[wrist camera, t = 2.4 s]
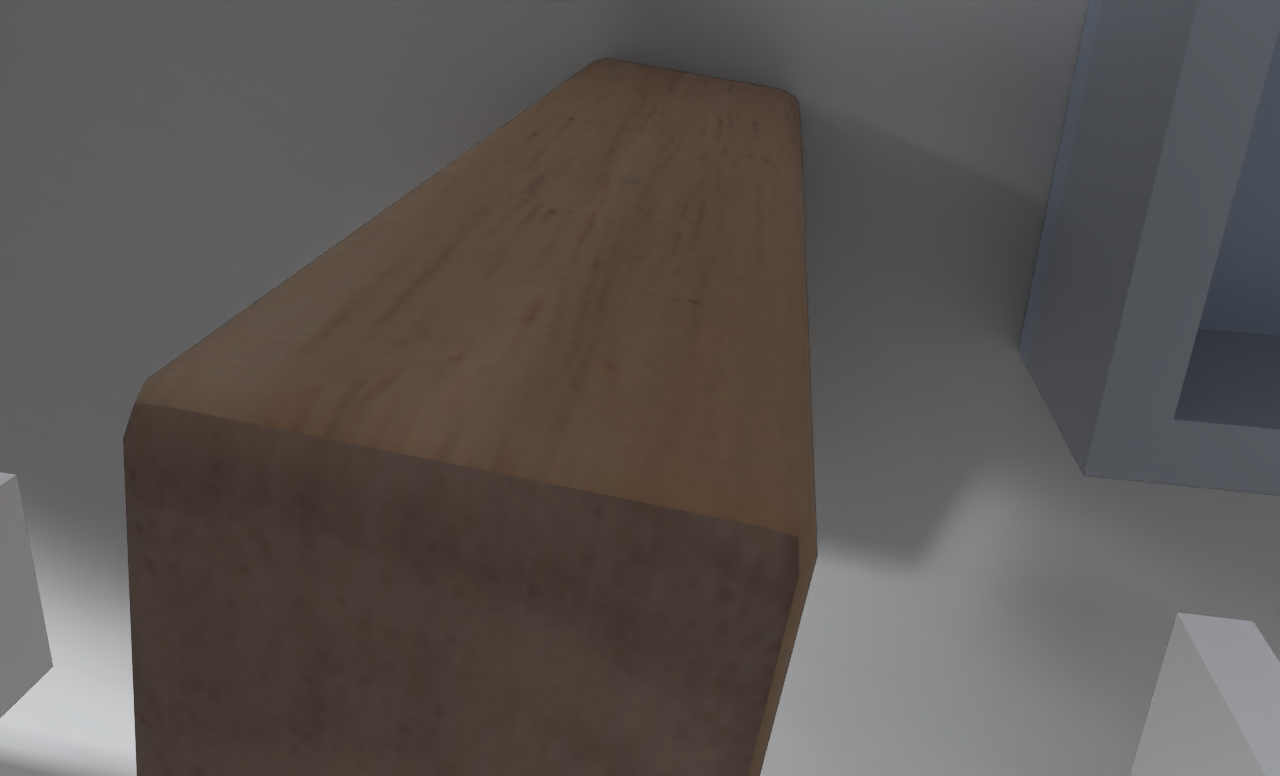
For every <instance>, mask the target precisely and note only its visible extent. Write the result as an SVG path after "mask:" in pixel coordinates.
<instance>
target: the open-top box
mask: <svg viewBox="0 0 1280 776" xmlns="http://www.w3.org/2000/svg"><path fill="white" fill-rule="evenodd" d="M1018 351H1019V353H1020V355H1021V357H1022V359H1023V361H1024V363H1025V365H1026V367H1027V368H1028V370H1029V372H1030V374H1031V376H1032V378H1033V380H1034V382H1035V384H1036V386H1037V387H1038V389H1039V391H1040V393H1041V395H1042V397H1043V399H1044V401H1045V403H1046V405H1047V407H1048V408H1049V410H1050V412H1051V414H1052V416H1053V418H1054V420H1055V422H1056V424H1057V426H1058V427H1059V429H1060V431H1061V433H1062V435H1063V437H1064V439H1065V441H1066V443H1067V445H1068V446H1069V448H1070V450H1071V452H1072V454H1073V456H1074V458H1075V460H1076V462H1077V464H1078V465H1079V467H1080V469H1081V471H1082V473H1083V475H1084V476H1092V477H1101V478H1111V479H1121V480H1131V481H1141V482H1150V483H1160V484H1170V485H1180V486H1190V487H1200V488H1209V489H1219V490H1229V491H1239V492H1249V493H1258V494H1268V495H1278V496H1280V0H1089V3H1088V8H1087V13H1086V18H1085V23H1084V28H1083V33H1082V38H1081V43H1080V48H1079V53H1078V58H1077V63H1076V68H1075V72H1074V77H1073V82H1072V87H1071V92H1070V97H1069V102H1068V107H1067V112H1066V117H1065V122H1064V127H1063V132H1062V137H1061V141H1060V146H1059V151H1058V156H1057V161H1056V166H1055V171H1054V176H1053V181H1052V186H1051V191H1050V196H1049V201H1048V206H1047V211H1046V215H1045V220H1044V225H1043V230H1042V235H1041V240H1040V245H1039V250H1038V255H1037V260H1036V265H1035V270H1034V275H1033V280H1032V285H1031V289H1030V294H1029V299H1028V304H1027V309H1026V314H1025V319H1024V324H1023V329H1022V334H1021V339H1020V344H1019V349H1018Z"/></svg>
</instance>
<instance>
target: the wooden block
mask: <svg viewBox="0 0 1280 776" xmlns="http://www.w3.org/2000/svg"><path fill="white" fill-rule="evenodd" d="M123 443H124V467H125V492H126V517H127V541H128V566H129V591H130V615H131V640H132V665H133V689H134V714H135V738H136V763H137V776H760V773H761V769H762V765H763V761H764V757H765V754H766V750H767V746H768V742H769V738H770V735H771V731H772V727H773V723H774V719H775V715H776V712H777V708H778V704H779V700H780V696H781V693H782V689H783V685H784V681H785V677H786V673H787V670H788V666H789V662H790V658H791V654H792V651H793V647H794V643H795V639H796V635H797V631H798V628H799V624H800V620H801V616H802V612H803V609H804V605H805V601H806V597H807V593H808V589H809V586H810V582H811V578H812V574H813V570H814V567H815V563H816V559H817V530H816V505H815V479H814V454H813V429H812V403H811V378H810V353H809V328H808V302H807V277H806V252H805V226H804V194H803V158H802V138H801V121H800V111H799V105H798V100H797V98H796V97H794V96H793V95H791V94H790V93H788V92H787V91H785V90H780V89H775V88H769V87H764V86H758V85H753V84H747V83H742V82H736V81H730V80H725V79H719V78H714V77H708V76H703V75H697V74H692V73H686V72H680V71H675V70H669V69H664V68H658V67H653V66H647V65H642V64H636V63H630V62H625V61H619V60H614V59H608V58H607V59H603V60H599V61H595V62H592V63H591V64H590V65H588V66H587V67H585V68H584V69H582V70H581V71H580V72H578V73H577V74H575V75H574V76H573V77H571V78H570V79H568V80H567V81H566V82H564V83H563V84H561V85H560V86H558V87H557V88H556V89H554V90H553V91H551V92H550V93H549V94H547V95H546V96H544V97H543V98H542V99H540V100H539V101H537V102H536V103H535V104H533V105H532V106H530V107H529V108H528V109H526V110H525V111H523V112H522V113H521V114H519V115H518V116H516V117H515V118H514V119H512V120H511V121H509V122H508V123H507V124H505V125H504V126H502V127H501V128H500V129H498V130H497V131H495V132H494V133H492V134H491V135H490V136H488V137H487V138H485V139H484V140H483V141H481V142H480V143H478V144H477V145H476V146H474V147H473V148H471V149H470V150H469V151H467V152H466V153H464V154H463V155H462V156H460V157H459V158H457V159H456V160H455V161H453V162H452V163H450V164H449V165H447V166H446V167H445V168H443V169H442V170H440V171H439V172H438V173H436V174H435V175H433V176H432V177H431V178H429V179H428V180H426V181H425V182H424V183H422V184H421V185H419V186H418V187H417V188H415V189H414V190H412V191H411V192H410V193H408V194H407V195H405V196H404V197H402V198H401V199H400V200H398V201H397V202H395V203H394V204H393V205H391V206H390V207H388V208H387V209H386V210H384V211H383V212H381V213H380V214H379V215H377V216H376V217H374V218H373V219H372V220H370V221H369V222H367V223H366V224H365V225H363V226H362V227H360V228H359V229H357V230H356V231H355V232H353V233H352V234H350V235H349V236H348V237H346V238H345V239H343V240H342V241H341V242H339V243H338V244H336V245H335V246H334V247H332V248H331V249H329V250H328V251H327V252H325V253H324V254H322V255H321V256H320V257H318V258H317V259H315V260H314V261H312V262H311V263H310V264H308V265H307V266H305V267H304V268H303V269H301V270H300V271H298V272H297V273H296V274H294V275H293V276H291V277H290V278H289V279H287V280H286V281H284V282H283V283H282V284H280V285H279V286H277V287H276V288H274V289H273V290H272V291H270V292H269V293H267V294H266V295H265V296H263V297H262V298H260V299H259V300H258V301H256V302H255V303H253V304H252V305H251V306H249V307H248V308H246V309H245V310H244V311H242V312H241V313H239V314H238V315H237V316H235V317H234V318H232V319H231V320H229V321H228V322H227V323H225V324H224V325H222V326H221V327H220V328H218V329H217V330H215V331H214V332H213V333H211V334H210V335H208V336H207V337H206V338H204V339H203V340H201V341H200V342H199V343H197V344H196V345H194V346H193V347H192V348H190V349H189V350H187V351H186V352H184V353H183V354H182V355H180V356H179V357H177V358H176V359H175V360H173V361H172V362H170V363H169V364H168V365H166V366H165V367H163V368H162V369H161V370H159V371H158V372H156V373H155V374H154V375H152V376H151V377H149V378H148V379H147V380H146V382H145V384H144V386H143V388H142V390H141V392H140V394H139V396H138V398H137V400H136V402H135V404H134V407H133V410H132V413H131V416H130V419H129V422H128V425H127V428H126V431H125V435H124V438H123Z"/></svg>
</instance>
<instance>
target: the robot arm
mask: <svg viewBox="0 0 1280 776" xmlns="http://www.w3.org/2000/svg"><path fill="white" fill-rule="evenodd" d="M52 667H53V664H52V658H51V653H50V648H49V643H48V637H47V632H46V627H45V621H44V616H43V611H42V606H41V600H40V595H39V590H38V584H37V579H36V574H35V569H34V563H33V558H32V553H31V548H30V542H29V537H28V532H27V526H26V521H25V516H24V511H23V505H22V500H21V495H20V489H19V484H18V479H17V474H9V473H0V718H1V717H2V716H3V715H4V714H5V713H6V712H7V711H8V710H9V709H10V708H11V707H12V706H13V705H14V704H15V703H16V702H17V701H18V700H19V699H20V698H21V697H22V696H23V695H24V694H25V693H26V692H27V691H29V690H30V689H31V688H32V687H33V686H34V685H35V684H36V683H37V682H38V681H39V680H40V679H41V678H42V677H43V676H44V675H45V674H46V673H47V672H48V671H49V670H50V669H51V668H52ZM1130 776H1280V662H1279V660H1278V658H1277V657H1276V655H1275V654H1274V652H1273V651H1272V649H1271V648H1270V646H1269V645H1268V643H1267V642H1266V640H1265V638H1264V637H1263V635H1262V634H1261V632H1260V631H1259V629H1258V628H1257V626H1256V625H1255V623H1254V622H1253V621H1246V620H1238V619H1229V618H1221V617H1212V616H1204V615H1196V614H1187V613H1179V612H1177V614H1176V617H1175V621H1174V624H1173V628H1172V631H1171V635H1170V638H1169V642H1168V645H1167V648H1166V652H1165V655H1164V659H1163V662H1162V666H1161V669H1160V673H1159V676H1158V679H1157V683H1156V686H1155V690H1154V693H1153V697H1152V700H1151V704H1150V707H1149V711H1148V714H1147V717H1146V721H1145V724H1144V728H1143V731H1142V735H1141V738H1140V742H1139V745H1138V748H1137V752H1136V755H1135V759H1134V762H1133V766H1132V769H1131V773H1130Z"/></svg>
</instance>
